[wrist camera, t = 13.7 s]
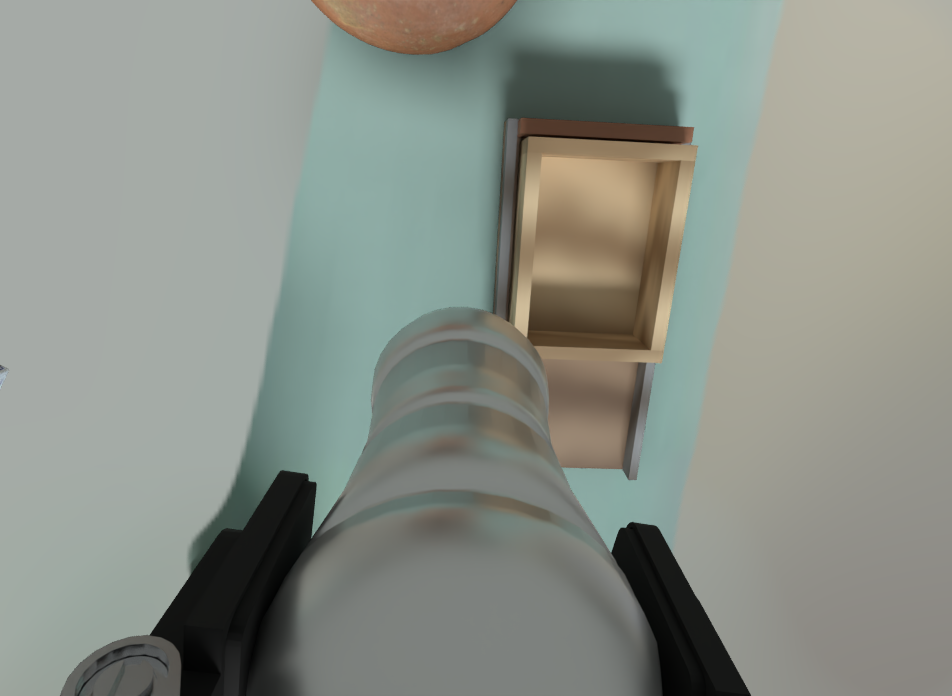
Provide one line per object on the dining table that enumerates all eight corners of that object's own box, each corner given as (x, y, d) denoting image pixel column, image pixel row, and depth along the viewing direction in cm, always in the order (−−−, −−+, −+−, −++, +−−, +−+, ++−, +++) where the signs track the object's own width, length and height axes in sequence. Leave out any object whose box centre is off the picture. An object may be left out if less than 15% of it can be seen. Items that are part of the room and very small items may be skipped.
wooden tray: (627, 463, 40) (643, 491, 37) (484, 459, 40) (486, 487, 36) (678, 132, 33) (705, 126, 29) (504, 122, 33) (509, 115, 29)
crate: (637, 341, 36) (661, 362, 32) (506, 336, 36) (512, 357, 32) (666, 150, 32) (697, 145, 28) (519, 142, 32) (528, 136, 28)
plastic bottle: (386, 287, 21) (-357, 1275, 2) (549, 301, 21) (1189, 1285, 2) (380, 429, 23) (-23, 1582, 4) (530, 440, 23) (795, 1570, 4)
